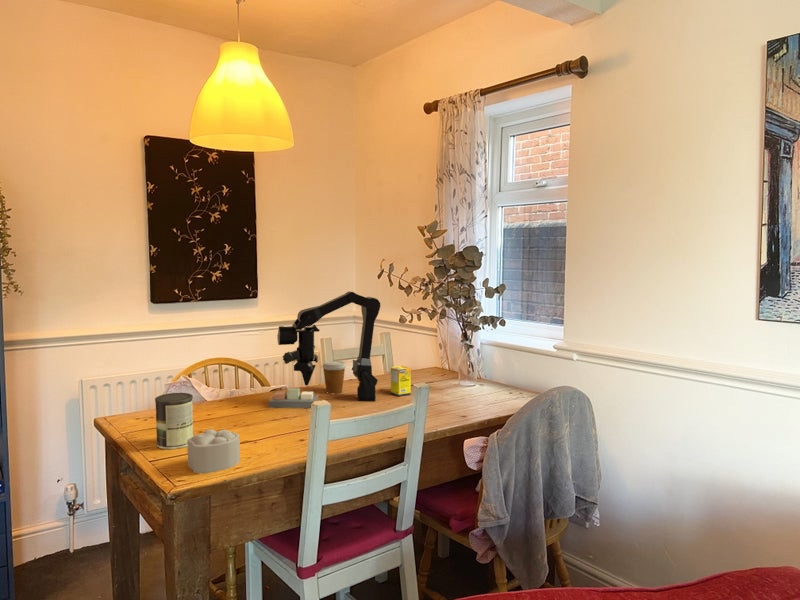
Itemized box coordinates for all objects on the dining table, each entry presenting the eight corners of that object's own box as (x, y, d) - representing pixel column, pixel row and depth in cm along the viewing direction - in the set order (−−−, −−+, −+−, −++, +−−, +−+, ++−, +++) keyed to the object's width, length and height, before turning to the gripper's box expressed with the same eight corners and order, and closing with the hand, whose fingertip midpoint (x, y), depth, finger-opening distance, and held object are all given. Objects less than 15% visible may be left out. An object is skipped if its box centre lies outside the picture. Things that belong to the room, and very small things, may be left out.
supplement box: (411, 394, 227) (411, 367, 226) (398, 396, 223) (398, 369, 222) (402, 391, 232) (402, 365, 231) (390, 393, 228) (390, 366, 227)
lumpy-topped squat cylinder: (185, 463, 152) (184, 432, 151) (232, 453, 160) (232, 423, 159) (196, 476, 144) (196, 442, 143) (246, 465, 151) (245, 433, 150)
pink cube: (286, 402, 213) (286, 391, 213) (284, 404, 209) (284, 394, 209) (276, 401, 213) (276, 391, 213) (273, 404, 209) (273, 394, 209)
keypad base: (317, 400, 216) (317, 394, 216) (313, 408, 206) (313, 401, 206) (274, 400, 216) (274, 394, 216) (268, 407, 206) (268, 401, 206)
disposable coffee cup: (348, 393, 228) (348, 364, 227) (325, 395, 224) (325, 365, 223) (342, 388, 237) (342, 360, 236) (320, 390, 233) (319, 361, 232)
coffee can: (149, 448, 163) (147, 400, 162) (167, 437, 173) (166, 392, 172) (183, 450, 162) (182, 402, 161) (199, 438, 172) (198, 393, 171)
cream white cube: (313, 402, 213) (313, 391, 213) (311, 405, 209) (311, 394, 209) (302, 402, 213) (302, 391, 213) (300, 404, 209) (300, 394, 209)
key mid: (300, 397, 213) (299, 387, 213) (298, 400, 209) (298, 390, 209) (289, 397, 213) (289, 387, 213) (287, 400, 209) (287, 389, 209)
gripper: (289, 339, 219) (289, 379, 220) (279, 347, 200) (279, 391, 201) (318, 339, 219) (318, 379, 220) (310, 348, 200) (311, 391, 201)
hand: (306, 385), depth 211 cm, fingers closed
